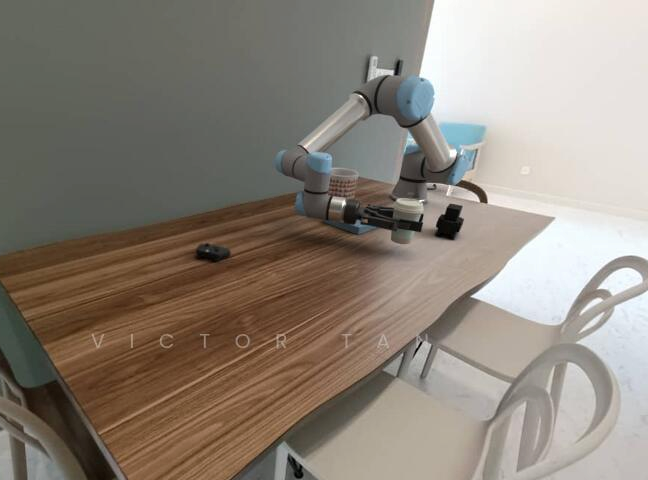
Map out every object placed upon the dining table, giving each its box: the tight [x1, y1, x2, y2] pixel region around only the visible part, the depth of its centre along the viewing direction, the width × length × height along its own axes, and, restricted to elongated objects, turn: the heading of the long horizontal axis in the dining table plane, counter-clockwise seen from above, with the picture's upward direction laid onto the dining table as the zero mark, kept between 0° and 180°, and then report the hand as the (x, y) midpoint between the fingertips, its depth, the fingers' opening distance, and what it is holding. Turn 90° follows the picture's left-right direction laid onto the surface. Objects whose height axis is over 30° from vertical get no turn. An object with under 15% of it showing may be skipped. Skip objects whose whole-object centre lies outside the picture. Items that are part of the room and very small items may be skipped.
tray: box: [322, 220, 379, 236], centre depth 142 cm, size 18×16×3 cm
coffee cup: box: [390, 198, 424, 245], centre depth 116 cm, size 8×8×12 cm
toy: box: [435, 203, 465, 241], centre depth 137 cm, size 8×14×10 cm, turn 149°
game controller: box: [195, 242, 232, 262], centre depth 110 cm, size 10×5×6 cm
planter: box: [328, 167, 359, 200], centre depth 159 cm, size 14×14×13 cm
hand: (422, 222), depth 115 cm, fingers closed on coffee cup, 8 cm apart
